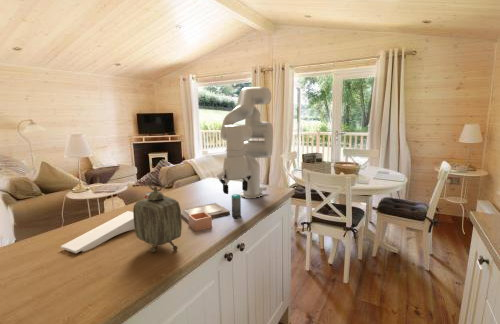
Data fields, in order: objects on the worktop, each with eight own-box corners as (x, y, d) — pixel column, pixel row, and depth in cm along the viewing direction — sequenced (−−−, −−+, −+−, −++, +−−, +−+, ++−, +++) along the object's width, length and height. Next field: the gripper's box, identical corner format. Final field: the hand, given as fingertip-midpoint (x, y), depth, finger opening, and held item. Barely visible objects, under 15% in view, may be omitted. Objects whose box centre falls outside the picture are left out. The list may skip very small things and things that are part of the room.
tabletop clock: (183, 249, 94) (179, 178, 90) (161, 261, 87) (156, 184, 83) (156, 239, 102) (151, 173, 98) (134, 249, 95) (128, 178, 91)
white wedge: (80, 270, 93) (144, 229, 117) (78, 253, 90) (144, 215, 114) (61, 257, 97) (127, 220, 120) (59, 240, 94) (127, 206, 118)
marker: (238, 214, 128) (237, 193, 126) (242, 217, 124) (242, 195, 123) (230, 216, 126) (230, 195, 124) (234, 218, 122) (234, 197, 121)
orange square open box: (204, 221, 119) (204, 211, 119) (211, 227, 113) (211, 216, 113) (188, 225, 116) (188, 215, 115) (195, 231, 110) (194, 220, 109)
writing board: (215, 205, 141) (215, 202, 140) (229, 214, 128) (229, 210, 128) (177, 213, 130) (177, 209, 130) (188, 223, 117) (188, 219, 117)
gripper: (247, 151, 128) (247, 187, 130) (213, 154, 118) (214, 192, 121) (256, 153, 122) (256, 191, 124) (221, 155, 112) (222, 196, 115)
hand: (235, 191), depth 122 cm, fingers open, 9 cm apart
